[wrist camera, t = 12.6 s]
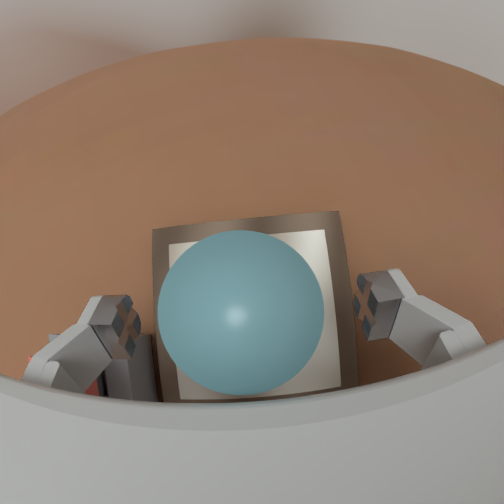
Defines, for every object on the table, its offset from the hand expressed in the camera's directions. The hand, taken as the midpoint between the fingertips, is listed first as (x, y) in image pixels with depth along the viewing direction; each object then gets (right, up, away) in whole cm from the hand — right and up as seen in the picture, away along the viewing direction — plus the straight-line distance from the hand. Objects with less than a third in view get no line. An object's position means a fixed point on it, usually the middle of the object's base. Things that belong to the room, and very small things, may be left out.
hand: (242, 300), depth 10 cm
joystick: (0, -2, +8) cm, 8 cm away
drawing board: (0, -3, +9) cm, 9 cm away
